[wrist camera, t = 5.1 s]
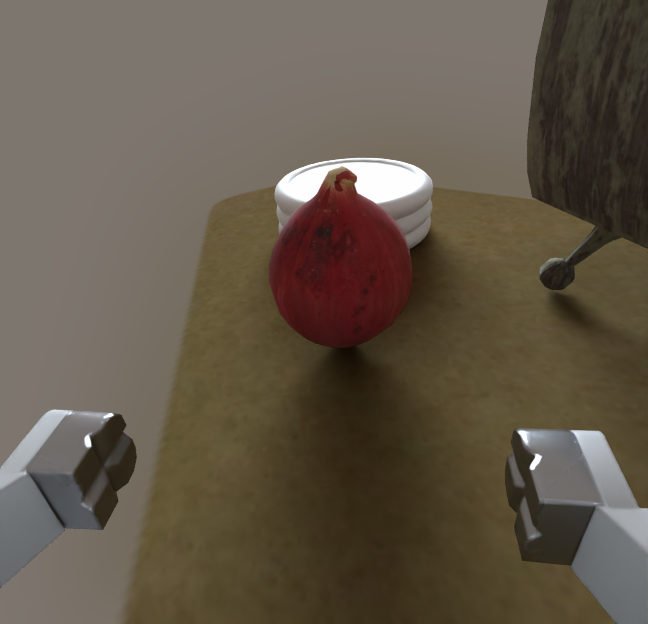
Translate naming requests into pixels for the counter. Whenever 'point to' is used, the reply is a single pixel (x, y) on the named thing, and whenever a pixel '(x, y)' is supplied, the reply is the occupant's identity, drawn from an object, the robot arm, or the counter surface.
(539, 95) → the tabletop clock
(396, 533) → the counter surface
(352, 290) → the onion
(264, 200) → the counter surface
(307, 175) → the white round flat cylinder
